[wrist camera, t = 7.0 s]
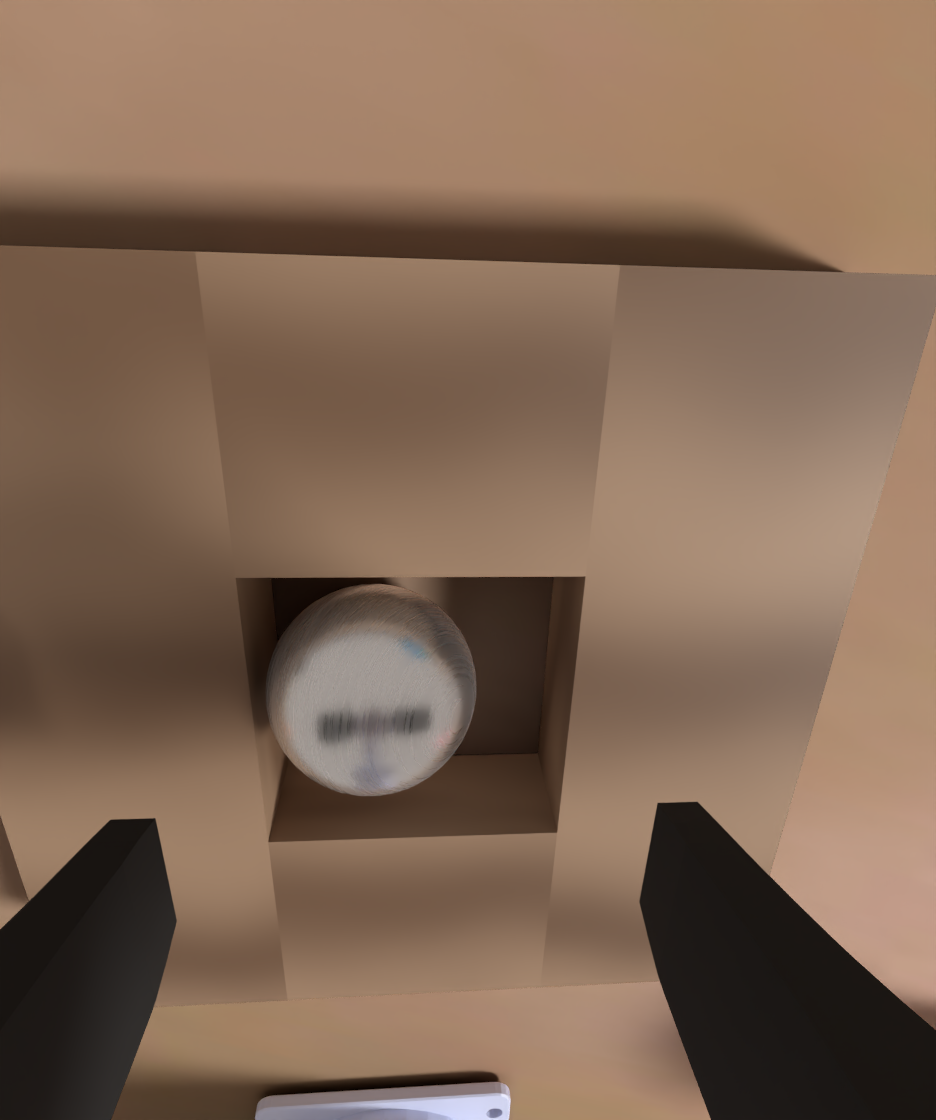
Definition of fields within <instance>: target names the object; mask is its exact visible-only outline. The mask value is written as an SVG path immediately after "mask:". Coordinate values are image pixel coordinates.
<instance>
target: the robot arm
mask: <svg viewBox="0 0 936 1120" xmlns="http://www.w3.org/2000/svg"><path fill="white" fill-rule="evenodd" d="M639 903H640V907H641V911H642V915H643V919H644V923H645V927H646V931H647V936H648V940H649V944H650V947H651V951H652V955H653V959H654V962H655V966H656V970H657V974H658V977H659V980H660V983H661V985H662V988H663V991H664V994H665V997H666V999H667V1002H668V1005H669V1007H670V1010H671V1013H672V1016H673V1018H674V1021H675V1024H676V1027H677V1029H678V1032H679V1035H680V1037H681V1040H682V1043H683V1046H684V1048H685V1051H686V1054H687V1056H688V1059H689V1062H690V1064H691V1067H692V1070H693V1072H694V1075H695V1078H696V1080H697V1083H698V1086H699V1088H700V1091H701V1094H702V1096H703V1099H704V1102H705V1104H706V1107H707V1110H708V1113H709V1115H710V1118H711V1120H936V1030H935V1029H934V1028H933V1027H931V1026H930V1025H929V1024H928V1023H927V1022H926V1021H924V1020H923V1019H922V1018H921V1017H920V1016H918V1015H917V1014H916V1013H915V1012H914V1011H913V1010H911V1009H910V1008H909V1007H908V1006H907V1005H906V1004H904V1003H903V1002H902V1001H901V1000H900V999H899V998H898V997H897V996H895V995H894V994H893V993H892V992H891V991H890V990H889V989H888V988H887V987H885V986H884V985H883V984H882V983H881V982H880V981H879V980H878V979H877V978H875V977H874V976H873V975H872V974H871V973H870V972H869V971H868V970H867V969H865V968H864V967H863V966H862V965H861V964H860V963H859V962H858V961H856V960H855V959H854V958H853V957H852V956H851V955H850V954H849V953H848V952H847V951H846V950H845V949H844V948H843V947H841V946H840V945H839V944H838V943H837V942H836V941H835V940H834V939H833V938H832V937H831V936H830V935H829V934H828V933H827V932H826V931H825V930H824V929H823V928H822V927H821V926H820V925H819V924H818V923H817V922H815V921H814V920H813V919H812V918H811V917H810V916H809V915H808V914H807V913H806V912H805V911H804V910H803V909H802V908H801V907H800V906H799V905H798V904H797V903H796V902H795V901H794V900H793V899H792V898H791V897H790V896H789V895H788V894H787V893H786V892H785V891H784V890H783V889H782V888H781V887H780V886H779V885H778V884H777V883H776V882H775V881H774V880H773V879H772V878H771V877H770V876H769V875H768V874H767V873H766V872H765V871H764V870H763V869H762V868H761V867H760V866H759V865H758V864H757V862H756V861H755V860H754V859H753V858H752V857H751V856H750V855H749V854H748V853H747V852H746V851H745V850H744V849H743V848H742V847H741V846H740V845H739V844H738V843H737V842H736V841H735V840H734V839H733V838H732V837H731V836H730V835H729V834H728V832H727V831H726V830H725V829H724V828H723V827H722V826H721V825H720V824H719V823H718V822H717V821H716V820H715V819H714V818H713V817H712V816H711V815H710V814H709V813H708V812H707V811H706V810H705V809H704V808H703V807H702V806H701V805H700V804H699V803H698V802H670V803H657V808H656V814H655V819H654V825H653V830H652V835H651V841H650V846H649V852H648V857H647V862H646V868H645V873H644V879H643V884H642V890H641V895H640V900H639ZM176 923H177V919H176V914H175V909H174V905H173V900H172V895H171V890H170V885H169V881H168V876H167V871H166V866H165V861H164V857H163V852H162V847H161V842H160V837H159V833H158V828H157V823H156V818H146V819H113V820H110V821H109V822H108V823H106V824H105V825H104V826H103V827H102V828H101V829H100V830H99V831H98V832H97V833H96V834H95V835H94V836H93V837H92V838H91V839H90V840H89V841H88V842H87V843H86V844H85V845H84V846H83V847H82V848H81V849H80V850H79V851H78V852H77V853H76V854H75V855H74V856H73V857H72V858H71V859H70V860H69V861H68V862H67V863H66V864H65V865H64V866H63V867H62V868H61V869H60V870H59V871H58V872H57V873H56V874H55V875H54V877H53V878H52V879H51V880H50V881H49V882H48V883H47V884H46V885H45V886H44V887H43V888H42V889H41V890H40V891H39V892H38V893H37V894H36V895H35V896H34V897H33V898H32V899H31V900H30V901H29V902H28V903H27V904H26V905H25V906H24V907H23V908H22V909H21V910H20V911H19V912H18V913H17V914H16V915H15V916H14V917H13V918H12V919H11V920H10V921H9V922H7V923H6V924H5V925H4V926H3V927H2V928H1V929H0V1120H111V1118H112V1115H113V1113H114V1110H115V1107H116V1105H117V1102H118V1100H119V1097H120V1094H121V1092H122V1089H123V1087H124V1084H125V1081H126V1079H127V1076H128V1074H129V1071H130V1068H131V1066H132V1063H133V1061H134V1058H135V1055H136V1053H137V1050H138V1047H139V1045H140V1042H141V1039H142V1037H143V1034H144V1031H145V1029H146V1026H147V1023H148V1021H149V1018H150V1015H151V1013H152V1010H153V1007H154V1004H155V1002H156V998H157V995H158V991H159V988H160V984H161V980H162V977H163V973H164V969H165V966H166V962H167V958H168V954H169V950H170V946H171V942H172V938H173V934H174V930H175V927H176ZM509 1112H510V1092H509V1088H508V1087H507V1086H506V1085H505V1084H504V1083H501V1082H482V1083H466V1084H450V1085H433V1086H417V1087H401V1088H385V1089H368V1090H352V1091H336V1092H320V1093H304V1094H287V1095H272V1096H267V1097H265V1098H262V1099H261V1100H260V1101H259V1102H258V1104H257V1110H256V1115H255V1120H509Z"/></svg>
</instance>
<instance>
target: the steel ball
mask: <svg viewBox="0 0 936 1120" xmlns="http://www.w3.org/2000/svg"><path fill="white" fill-rule="evenodd" d="M475 702H476V672H475V666H474V663H473V659H472V655H471V652H470V649H469V647H468V645H467V643H466V641H465V638H464V636H463V635H462V633H461V632H460V630H459V629H458V627H457V626H456V624H455V623H454V622H453V620H452V619H451V618H450V617H449V616H448V615H447V614H446V613H445V612H444V611H443V610H442V609H441V608H440V607H438V606H437V605H435V604H434V603H433V602H431V601H430V600H429V599H427V598H425V597H423V596H421V595H420V594H418V593H415V592H413V591H411V590H408V589H405V588H401V587H397V586H392V585H385V584H361V585H356V586H351V587H346V588H342V589H340V590H337V591H335V592H332V593H330V594H327V595H325V596H324V597H322V598H320V599H318V600H317V601H315V602H314V603H312V604H311V605H309V606H308V607H307V608H305V609H304V610H303V611H302V612H301V613H300V614H299V615H298V616H297V617H296V618H295V619H294V620H293V621H292V623H291V624H290V625H289V626H288V627H287V629H286V630H285V632H284V633H283V635H282V636H281V638H280V640H279V641H278V643H277V645H276V648H275V650H274V652H273V655H272V658H271V661H270V664H269V668H268V672H267V679H266V707H267V713H268V717H269V721H270V725H271V728H272V730H273V733H274V735H275V737H276V739H277V741H278V743H279V745H280V747H281V748H282V750H283V752H284V753H285V754H286V756H287V757H288V758H289V759H290V760H291V762H292V763H293V764H294V765H295V766H296V767H297V768H298V769H299V770H300V771H301V772H303V773H304V774H305V775H306V776H308V777H309V778H310V779H312V780H313V781H315V782H317V783H319V784H320V785H322V786H324V787H327V788H329V789H332V790H334V791H337V792H340V793H345V794H351V795H356V796H381V795H387V794H392V793H396V792H399V791H402V790H405V789H408V788H410V787H413V786H415V785H417V784H419V783H420V782H422V781H424V780H426V779H427V778H429V777H430V776H431V775H433V774H434V773H435V772H436V771H438V770H439V769H440V768H441V767H442V766H443V765H444V764H445V763H446V762H447V761H448V760H449V759H450V758H451V756H452V755H453V754H454V753H455V751H456V750H457V749H458V747H459V746H460V744H461V742H462V741H463V739H464V737H465V735H466V733H467V730H468V728H469V725H470V723H471V720H472V716H473V713H474V708H475Z"/></svg>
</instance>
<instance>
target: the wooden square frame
mask: <svg viewBox="0 0 936 1120" xmlns="http://www.w3.org/2000/svg"><path fill="white" fill-rule="evenodd" d="M935 308H936V275H912V274H880V273H849V272H818V271H787V270H756V269H724V268H693V267H662V266H631V265H600V264H569V263H537V262H506V261H475V260H444V259H413V258H381V257H350V256H319V255H288V254H257V253H225V252H194V251H163V250H132V249H101V248H69V247H38V246H7V245H0V816H1V819H2V822H3V825H4V828H5V831H6V834H7V837H8V840H9V843H10V846H11V849H12V852H13V855H14V858H15V861H16V864H17V867H18V870H19V873H20V876H21V879H22V882H23V885H24V888H25V891H26V894H27V897H28V900H29V901H30V900H31V899H32V898H33V897H34V896H35V895H36V894H37V893H38V892H39V891H40V890H41V889H42V888H43V887H44V886H45V885H46V884H47V883H48V882H49V881H50V880H51V879H52V878H53V877H54V875H55V874H56V873H57V872H58V871H59V870H60V869H61V868H62V867H63V866H64V865H65V864H66V863H67V862H68V861H69V860H70V859H71V858H72V857H73V856H74V855H75V854H76V853H77V852H78V851H79V850H80V849H81V848H82V847H83V846H84V845H85V844H86V843H87V842H88V841H89V840H90V839H91V838H92V837H93V836H94V835H95V834H96V833H97V832H98V831H99V830H100V829H101V828H102V827H103V826H104V825H105V824H106V823H108V822H109V821H110V820H113V819H146V818H156V823H157V828H158V833H159V837H160V842H161V847H162V852H163V857H164V861H165V866H166V871H167V876H168V881H169V885H170V890H171V895H172V900H173V905H174V909H175V914H176V919H177V923H176V927H175V930H174V934H173V938H172V942H171V946H170V950H169V954H168V958H167V962H166V966H165V969H164V973H163V977H162V980H161V984H160V988H159V991H158V995H157V998H156V1002H155V1004H154V1007H168V1006H187V1005H207V1004H226V1003H246V1002H265V1001H285V1000H305V999H324V998H344V997H363V996H383V995H402V994H422V993H441V992H461V991H481V990H500V989H520V988H539V987H559V986H578V985H598V984H617V983H637V982H656V981H660V980H659V977H658V974H657V970H656V966H655V962H654V959H653V955H652V951H651V947H650V944H649V940H648V936H647V931H646V927H645V923H644V919H643V915H642V911H641V907H640V903H639V900H640V895H641V890H642V884H643V879H644V873H645V868H646V862H647V857H648V852H649V846H650V841H651V835H652V830H653V825H654V819H655V814H656V808H657V803H670V802H698V803H699V804H700V805H701V806H702V807H703V808H704V809H705V810H706V811H707V812H708V813H709V814H710V815H711V816H712V817H713V818H714V819H715V820H716V821H717V822H718V823H719V824H720V825H721V826H722V827H723V828H724V829H725V830H726V831H727V832H728V834H729V835H730V836H731V837H732V838H733V839H734V840H735V841H736V842H737V843H738V844H739V845H740V846H741V847H742V848H743V849H744V850H745V851H746V852H747V853H748V854H749V855H750V856H751V857H752V858H753V859H754V860H755V861H756V862H757V864H758V865H759V866H760V867H761V868H762V869H763V870H764V871H765V872H766V873H767V874H768V875H769V876H770V872H771V869H772V865H773V862H774V859H775V855H776V852H777V848H778V845H779V842H780V838H781V835H782V831H783V828H784V824H785V821H786V818H787V814H788V811H789V807H790V804H791V800H792V797H793V794H794V790H795V787H796V783H797V780H798V777H799V773H800V770H801V766H802V763H803V759H804V756H805V753H806V749H807V746H808V742H809V739H810V736H811V732H812V729H813V725H814V722H815V718H816V715H817V712H818V708H819V705H820V701H821V698H822V695H823V691H824V688H825V684H826V681H827V677H828V674H829V671H830V667H831V664H832V660H833V657H834V653H835V650H836V647H837V643H838V640H839V636H840V633H841V630H842V626H843V623H844V619H845V616H846V612H847V609H848V606H849V602H850V599H851V595H852V592H853V589H854V585H855V582H856V578H857V575H858V571H859V568H860V565H861V561H862V558H863V554H864V551H865V547H866V544H867V541H868V537H869V534H870V530H871V527H872V524H873V520H874V517H875V513H876V510H877V506H878V503H879V500H880V496H881V493H882V489H883V486H884V483H885V479H886V476H887V472H888V469H889V465H890V462H891V459H892V455H893V452H894V448H895V445H896V441H897V438H898V435H899V431H900V428H901V424H902V421H903V418H904V414H905V411H906V407H907V404H908V400H909V397H910V394H911V390H912V387H913V383H914V380H915V377H916V373H917V370H918V366H919V363H920V359H921V356H922V353H923V349H924V346H925V342H926V339H927V336H928V332H929V329H930V325H931V322H932V318H933V315H934V312H935ZM333 577H553V588H552V600H551V611H550V622H549V633H548V644H547V656H546V667H545V678H544V689H543V700H542V711H541V723H540V734H539V745H538V754H500V755H459V756H451V758H450V759H449V760H448V761H447V762H446V763H445V764H444V765H443V766H442V767H441V768H440V769H439V770H438V771H436V772H435V773H434V774H433V775H431V776H430V777H429V778H427V779H426V780H424V781H422V782H420V783H419V784H417V785H415V786H413V787H410V788H408V789H405V790H402V791H399V792H396V793H392V794H387V795H381V796H356V795H351V794H345V793H340V792H337V791H334V790H332V789H329V788H327V787H324V786H322V785H320V784H319V783H317V782H315V781H313V780H312V779H310V778H309V777H308V776H306V775H305V774H304V773H303V772H301V771H300V770H299V769H298V768H297V767H296V766H295V765H294V764H293V763H292V762H291V760H289V758H288V757H287V756H286V754H285V753H284V752H283V750H282V748H281V747H280V745H279V743H278V741H277V739H276V737H275V735H274V733H273V730H272V728H271V725H270V721H269V717H268V713H267V707H266V679H267V672H268V668H269V664H270V661H271V658H272V655H273V652H274V650H275V648H276V645H277V643H278V642H277V632H276V622H275V612H274V602H273V592H272V582H271V578H333Z"/></svg>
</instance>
